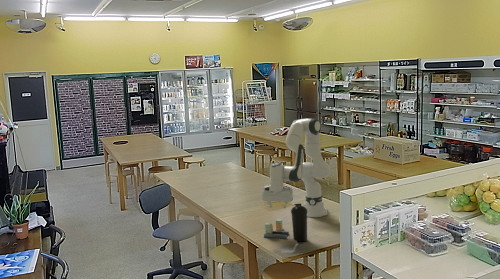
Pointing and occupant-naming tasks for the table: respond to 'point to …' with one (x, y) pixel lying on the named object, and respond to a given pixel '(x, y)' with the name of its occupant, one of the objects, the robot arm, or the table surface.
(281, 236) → the rail
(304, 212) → the water bottle
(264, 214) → the table surface
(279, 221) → the pale green block
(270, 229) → the green and orange block
